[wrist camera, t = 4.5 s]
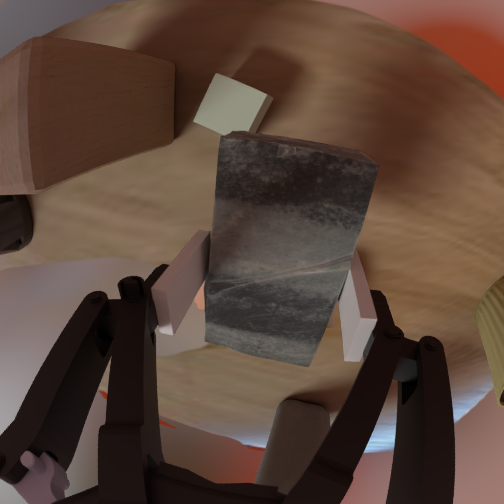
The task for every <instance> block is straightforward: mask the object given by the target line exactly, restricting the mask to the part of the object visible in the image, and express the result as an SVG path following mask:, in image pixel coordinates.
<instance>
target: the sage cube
mask: <svg viewBox="0 0 504 504" xmlns="http://www.w3.org/2000/svg"><path fill="white" fill-rule="evenodd" d="M273 99H274V98H273V97H271V96H269V95H268V94H265V93H263V92H261V91H259V90H257V89H254V88H252V87H250V86H247V85H245V84H243V83H240V82H238V81H236V80H233V79H231V78H228V77H226V76H223V75H220V74H218V73H216V74H215V76H214V78H213V80H212V82H211V84H210V86H209V88H208V90H207V92H206V94H205V96H204V99H203V101H202V103H201V105H200V107H199V110H198V112H197V114H196V116H195V118H194V121H193V122H196V123H198V124H200V125H202V126H205V127H207V128H209V129H211V130H214V131H216V132H218V133H220V134H222V135H227V134H229V133H231V132H232V131H247V132H250V133H256V131H257V129H258V127H259V125H260V123H261V121H262V119H263V118H264V116H265V114H266V112H267V110H268V108H269V106H270V104H271V102H272V101H273Z"/></svg>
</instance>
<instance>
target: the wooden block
mask: <svg viewBox="0 0 504 504" xmlns="http://www.w3.org/2000/svg"><path fill="white" fill-rule="evenodd" d="M174 91H175V66H174V63H173V62H170V61H167V60H164V59H160V58H157V57H153V56H150V55H146V54H142V53H138V52H134V51H130V50H125V49H121V48H116V47H112V46H107V45H101V44H96V43H90V42H83V41H76V40H69V39H60V38H49V37H34V38H31V39H29V40H27V41H25V42H23V43H22V44H20V45H19V46H18V47H16V48H15V49H14V50H12V51H11V52H9V53H8V54H7V55H5V56H4V57H3V58H1V59H0V195H15V194H39V193H41V192H43V191H45V190H48V189H50V188H52V187H54V186H56V185H59V184H61V183H63V182H66V181H68V180H70V179H73V178H75V177H78V176H80V175H83V174H85V173H88V172H90V171H93V170H95V169H98V168H101V167H103V166H106V165H109V164H112V163H115V162H117V161H120V160H123V159H126V158H129V157H132V156H135V155H138V154H142V153H145V152H148V151H151V150H155V149H158V148H162V147H165V146H167V145H170V144H171V143H172V142H173V139H174Z"/></svg>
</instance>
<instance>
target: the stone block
mask: <svg viewBox="0 0 504 504" xmlns="http://www.w3.org/2000/svg"><path fill="white" fill-rule="evenodd" d="M378 167H379V165H378V164H377V163H376V162H374V161H373V160H372V159H371V158H369V157H368V156H367V155H365V154H364V153H363V152H361V151H359V150H352V149H348V148H344V147H339V146H333V145H328V144H323V143H317V142H312V141H306V140H300V139H294V138H289V137H282V136H272V135H264V134H260V133H250V132H247V131H232V132H231V133H229V134H227V135H224V136H221V138H220V145H219V152H218V164H217V176H216V189H215V204H214V213H213V224H212V235H211V247H210V261H209V274H208V275H207V277H206V279H205V284H204V301H205V319H206V321H205V342H208V343H211V344H214V345H218V346H221V347H225V348H229V349H232V350H235V351H238V352H241V353H244V354H247V355H251V356H256V357H260V358H265V359H271V360H276V361H280V362H285V363H289V364H294V365H299V366H305V367H309V366H310V364H311V362H312V359H313V357H314V355H315V353H316V351H317V348H318V346H319V344H320V341H321V339H322V337H323V334H324V331H325V329H326V326H327V324H328V322H329V319H330V316H331V314H332V312H333V310H334V307H335V305H336V302H337V300H338V297H339V294H340V292H341V289H342V286H343V284H344V281H345V278H346V276H347V273H348V270H349V269H350V267H351V264H352V260H353V253H354V250H355V247H356V244H357V241H358V238H359V235H360V231H361V228H362V225H363V222H364V219H365V215H366V212H367V209H368V205H369V202H370V198H371V195H372V191H373V187H374V184H375V180H376V176H377V172H378Z"/></svg>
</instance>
